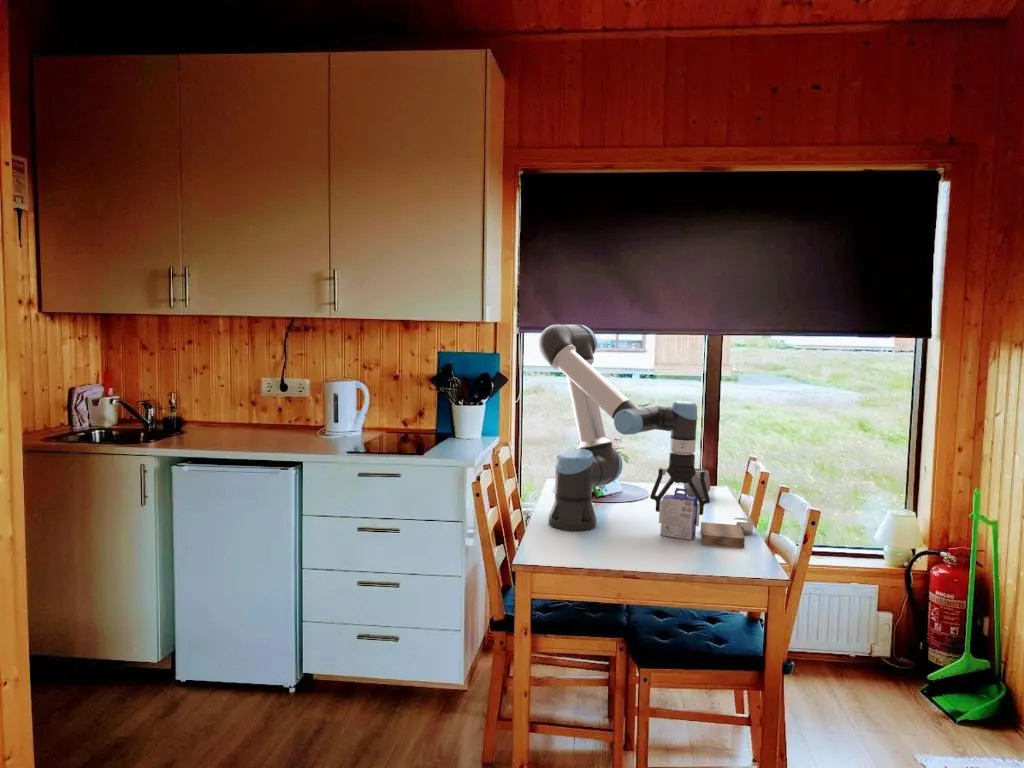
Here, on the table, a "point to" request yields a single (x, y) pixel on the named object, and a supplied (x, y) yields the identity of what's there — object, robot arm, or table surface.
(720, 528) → the podium
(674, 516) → the ink cartridge box
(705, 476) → the cup
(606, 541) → the table surface
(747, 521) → the silver metal knob
